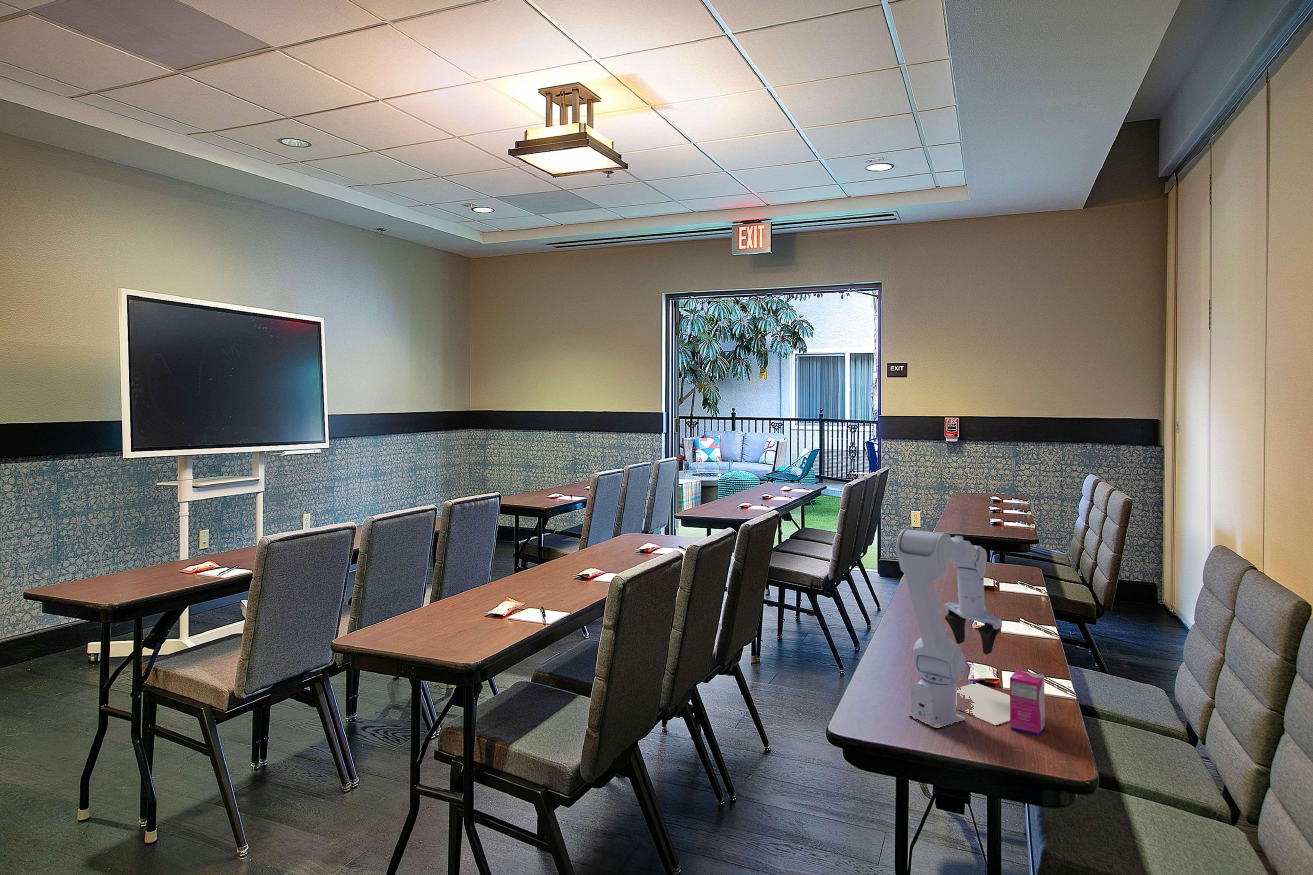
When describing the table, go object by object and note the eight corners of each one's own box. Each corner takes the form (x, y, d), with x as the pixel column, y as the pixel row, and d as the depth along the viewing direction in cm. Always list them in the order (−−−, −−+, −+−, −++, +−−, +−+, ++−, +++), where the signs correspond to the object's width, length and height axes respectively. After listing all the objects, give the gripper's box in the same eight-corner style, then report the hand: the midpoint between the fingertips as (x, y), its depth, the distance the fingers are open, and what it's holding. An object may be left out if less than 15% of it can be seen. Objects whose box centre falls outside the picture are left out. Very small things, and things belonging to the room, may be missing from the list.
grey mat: (995, 726, 161) (995, 724, 161) (928, 697, 177) (928, 696, 177) (1044, 709, 169) (1044, 708, 169) (976, 683, 185) (976, 682, 185)
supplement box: (1015, 720, 164) (1016, 668, 164) (1045, 727, 160) (1046, 674, 160) (1008, 729, 160) (1009, 676, 159) (1038, 736, 156) (1040, 683, 155)
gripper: (1009, 597, 172) (1011, 652, 174) (957, 581, 185) (959, 632, 187) (989, 605, 169) (992, 661, 171) (937, 589, 182) (940, 641, 184)
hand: (973, 647), depth 179 cm, fingers open, 7 cm apart
